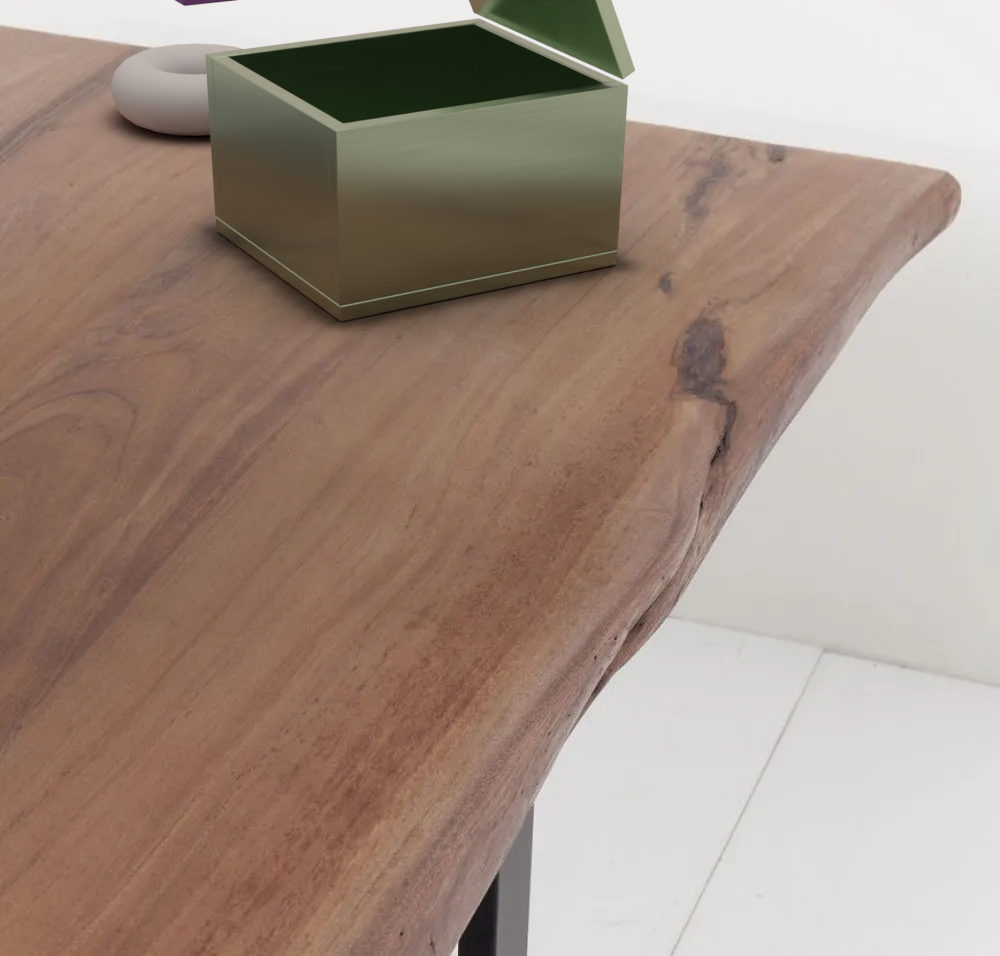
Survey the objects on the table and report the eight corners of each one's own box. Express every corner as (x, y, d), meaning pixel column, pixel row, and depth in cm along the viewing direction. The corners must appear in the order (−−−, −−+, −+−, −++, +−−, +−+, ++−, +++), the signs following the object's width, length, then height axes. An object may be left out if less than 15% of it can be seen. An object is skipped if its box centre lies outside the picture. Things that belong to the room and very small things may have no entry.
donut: (95, 105, 114) (139, 150, 107) (89, 45, 112) (133, 87, 105) (253, 89, 117) (306, 132, 110) (250, 31, 116) (304, 71, 108)
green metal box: (340, 322, 87) (335, 130, 82) (215, 231, 97) (204, 53, 91) (617, 265, 94) (628, 85, 89) (475, 185, 103) (479, 18, 98)
